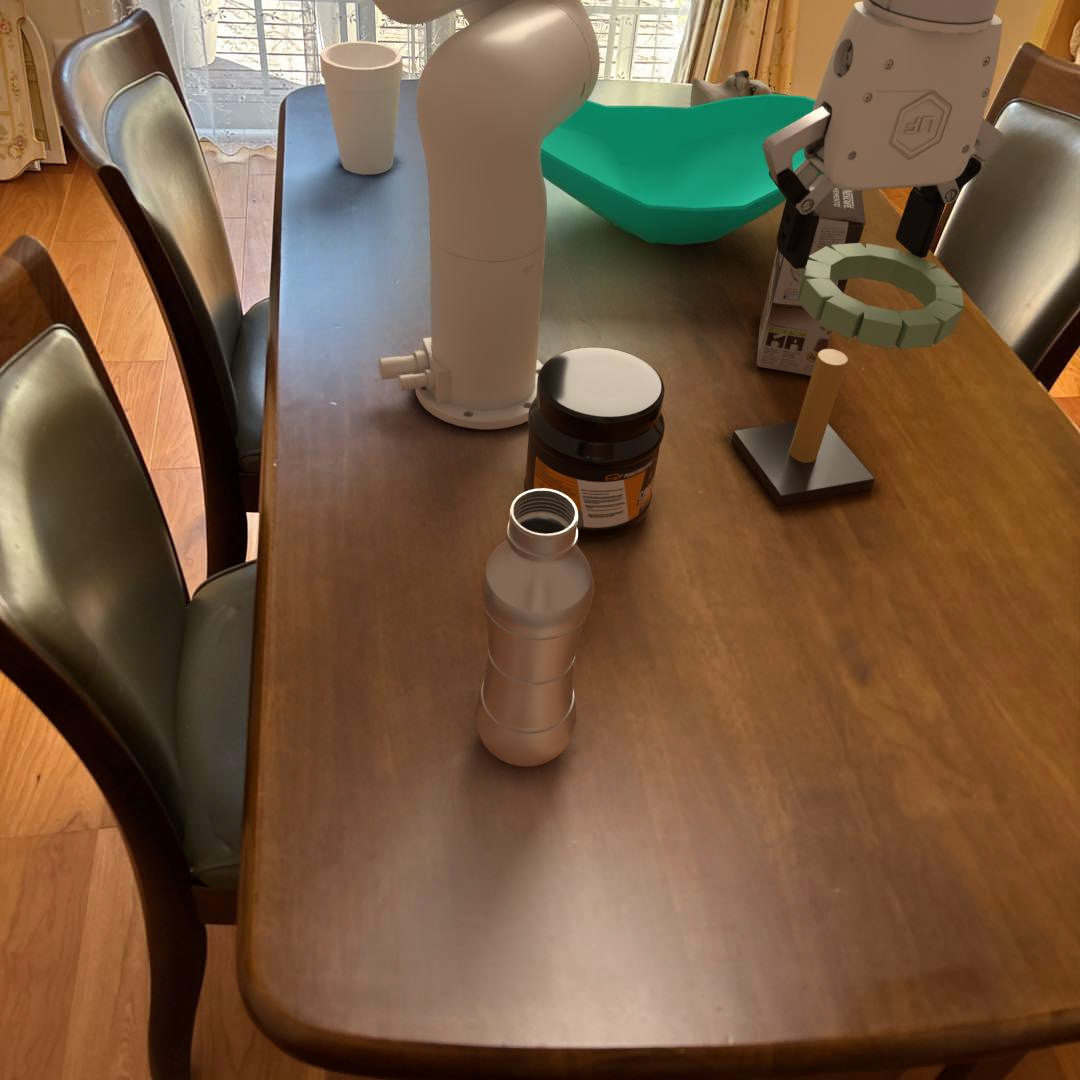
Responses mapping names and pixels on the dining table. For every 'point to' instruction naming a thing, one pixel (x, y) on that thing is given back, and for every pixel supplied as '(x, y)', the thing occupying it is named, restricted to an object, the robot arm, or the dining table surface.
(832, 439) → the peg stand
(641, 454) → the supplement container
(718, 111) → the table top decor
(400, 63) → the foam cup
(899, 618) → the dining table surface
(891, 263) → the ring
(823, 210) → the coffee box
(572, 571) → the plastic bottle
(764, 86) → the ceramic sculpture
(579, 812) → the dining table surface
